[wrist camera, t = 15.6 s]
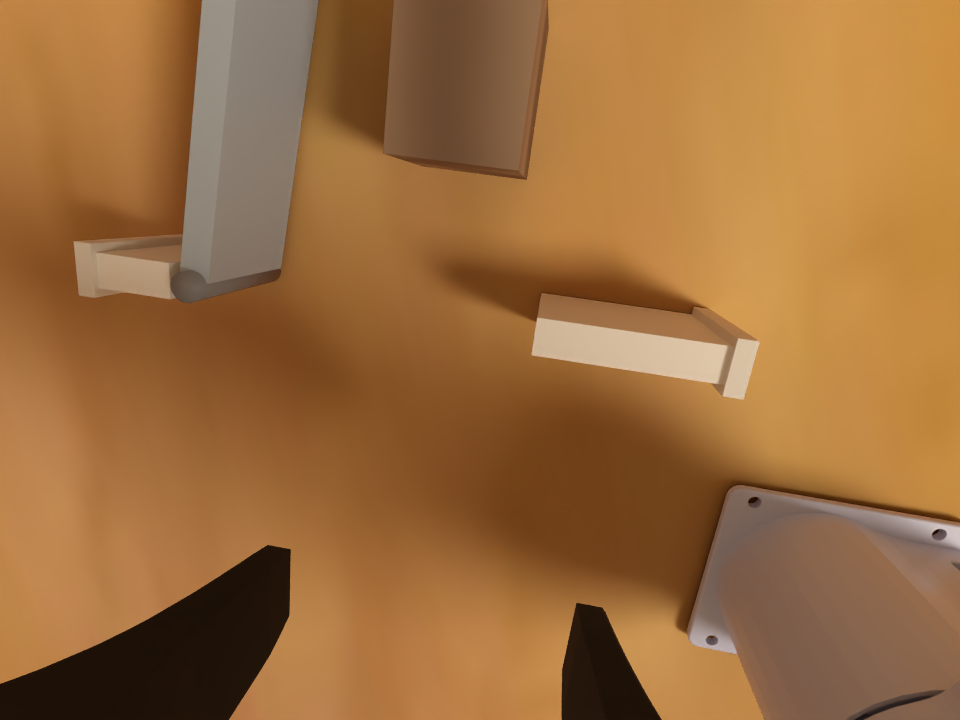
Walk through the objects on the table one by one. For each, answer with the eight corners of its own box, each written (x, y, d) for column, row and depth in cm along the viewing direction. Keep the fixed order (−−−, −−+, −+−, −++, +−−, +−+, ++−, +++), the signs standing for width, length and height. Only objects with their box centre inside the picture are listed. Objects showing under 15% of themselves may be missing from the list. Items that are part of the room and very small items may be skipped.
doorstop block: (548, 29, 18) (546, -33, 14) (526, 179, 20) (518, 170, 15) (437, 18, 19) (397, -47, 14) (423, 166, 20) (383, 153, 16)
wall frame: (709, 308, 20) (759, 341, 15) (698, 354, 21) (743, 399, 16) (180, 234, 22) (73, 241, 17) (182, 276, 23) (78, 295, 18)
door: (263, -41, 19) (158, -130, 14) (322, -26, 19) (237, -112, 14) (229, 270, 22) (135, 288, 17) (279, 284, 22) (198, 306, 17)
